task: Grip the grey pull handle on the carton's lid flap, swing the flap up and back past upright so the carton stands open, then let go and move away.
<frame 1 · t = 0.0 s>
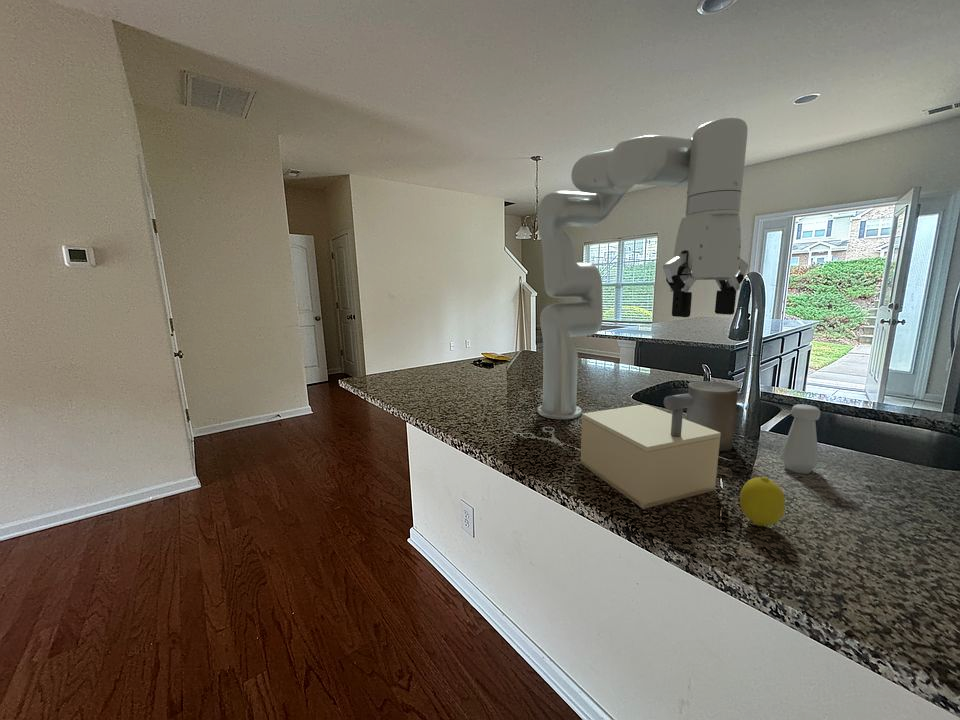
hand: (702, 315, 66), 31 cm above the countertop, tool pointing down, fingers open, 9 cm apart
carton flap: (647, 406, 73), point 14 cm above the countertop, hinge at 0.0°
salt shaker: (797, 469, 77), on the countertop
lemon: (758, 526, 60), on the countertop
carton: (642, 475, 75), on the countertop
pillar candle: (707, 443, 90), on the countertop
scissors: (555, 444, 93), on the countertop
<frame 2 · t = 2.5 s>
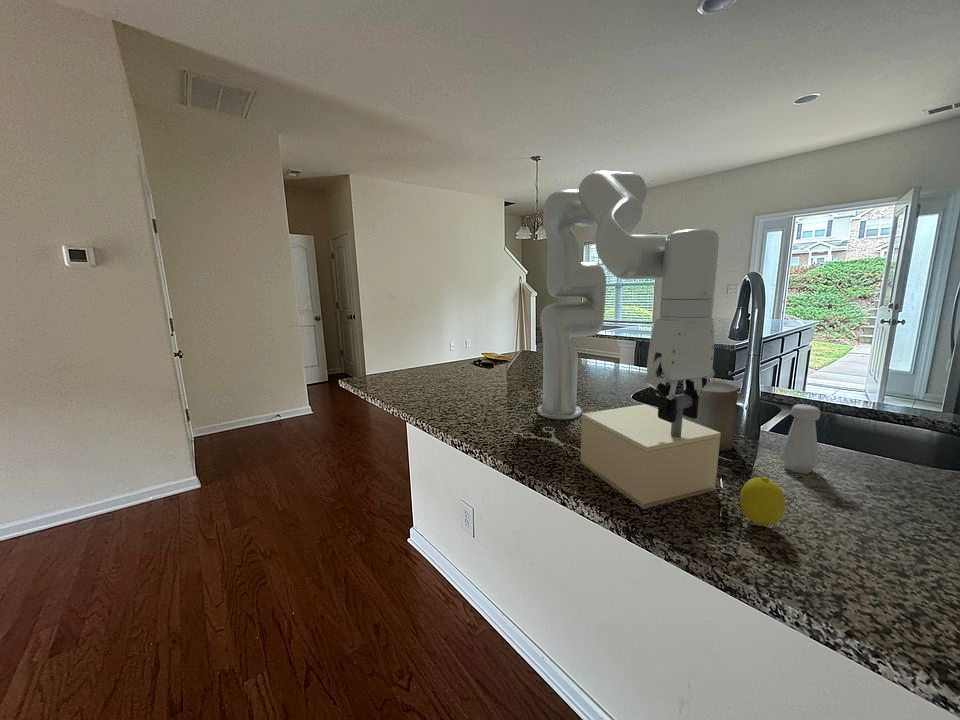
hand: (677, 417, 66), 14 cm above the countertop, tool pointing down, fingers closed on carton flap, 4 cm apart
carton flap: (647, 406, 73), point 14 cm above the countertop, hinge at 0.0°, touching gripper
everything else where it was.
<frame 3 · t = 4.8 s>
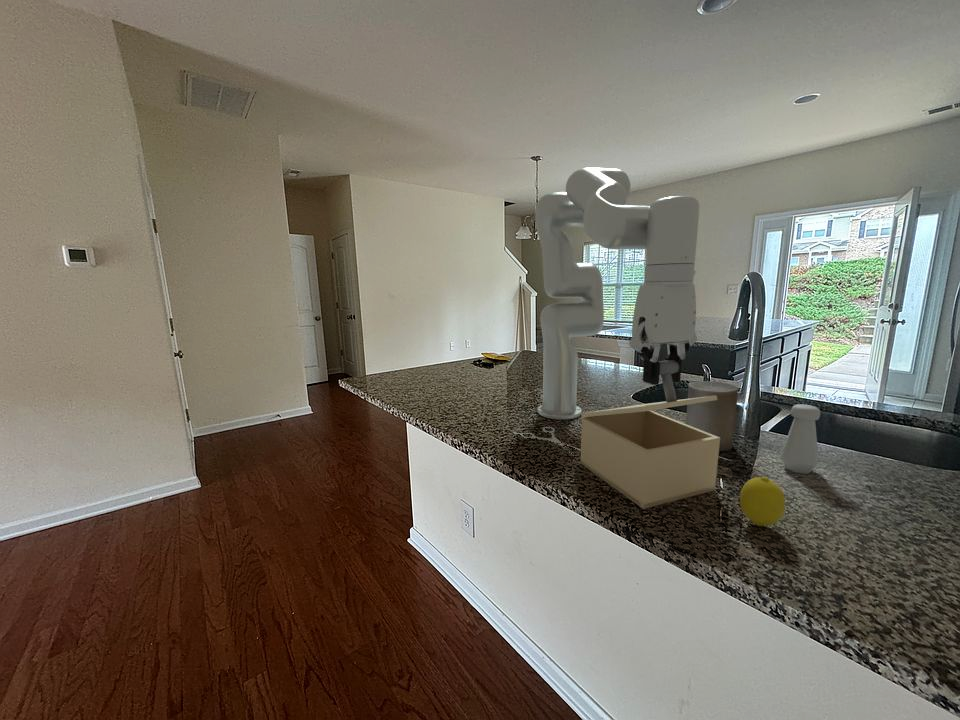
hand: (661, 380, 69), 20 cm above the countertop, tool pointing down, fingers closed on carton flap, 4 cm apart
carton flap: (640, 388, 74), point 17 cm above the countertop, hinge at 20.9°, touching gripper
everything else where it was.
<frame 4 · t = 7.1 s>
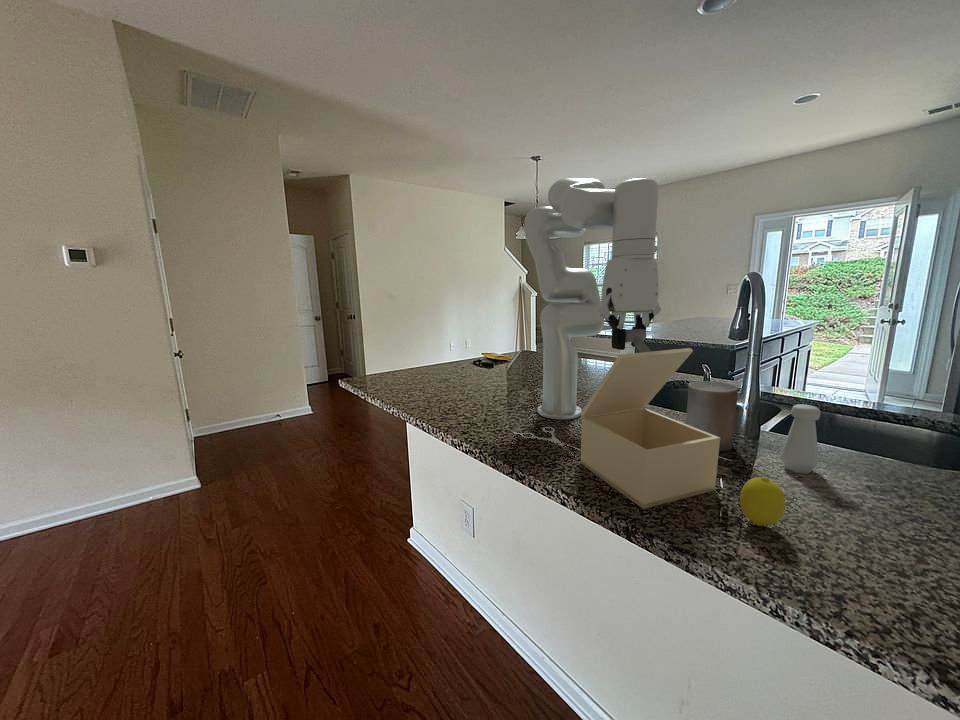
hand: (628, 347, 76), 24 cm above the countertop, tool pointing down, fingers closed on carton flap, 4 cm apart
carton flap: (624, 370, 78), point 20 cm above the countertop, hinge at 52.1°, touching gripper
everything else where it was.
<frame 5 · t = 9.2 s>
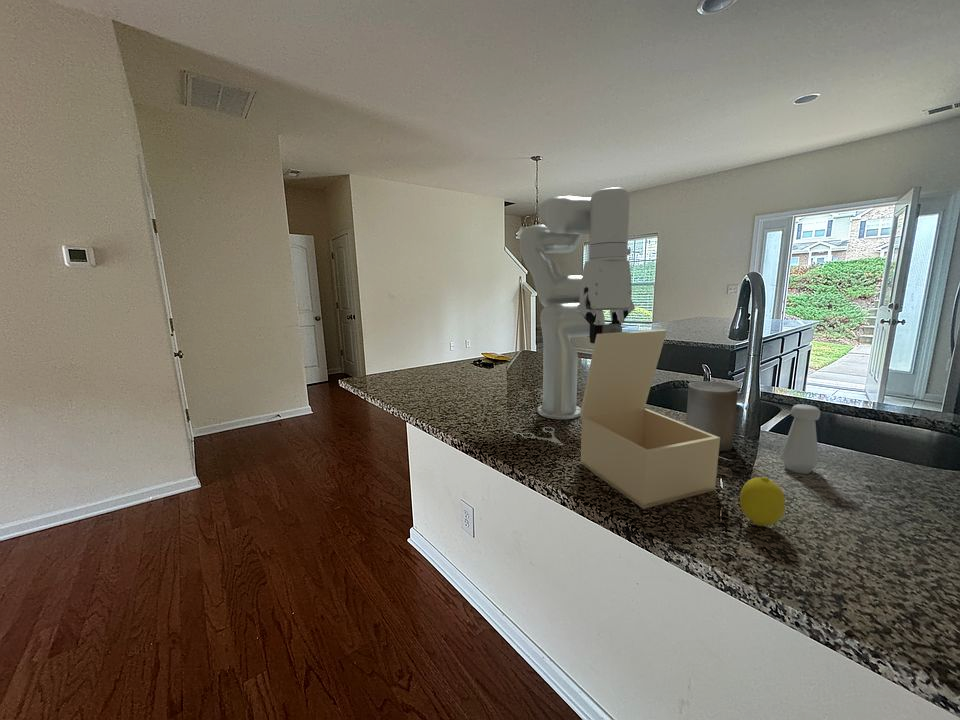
hand: (605, 341, 83), 25 cm above the countertop, tool pointing down, fingers closed on carton flap, 4 cm apart
carton flap: (611, 366, 82), point 20 cm above the countertop, hinge at 74.8°, touching gripper
everything else where it was.
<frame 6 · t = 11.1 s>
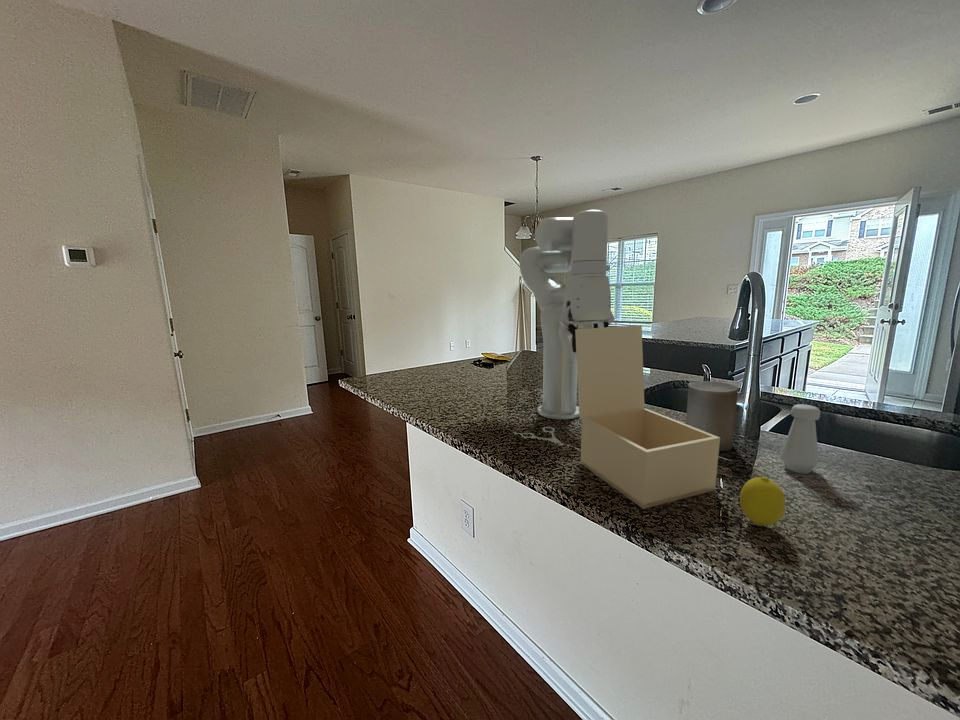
hand: (586, 351, 89), 22 cm above the countertop, tool pointing down, fingers open, 4 cm apart
carton flap: (600, 369, 85), point 18 cm above the countertop, hinge at 97.4°
everything else where it was.
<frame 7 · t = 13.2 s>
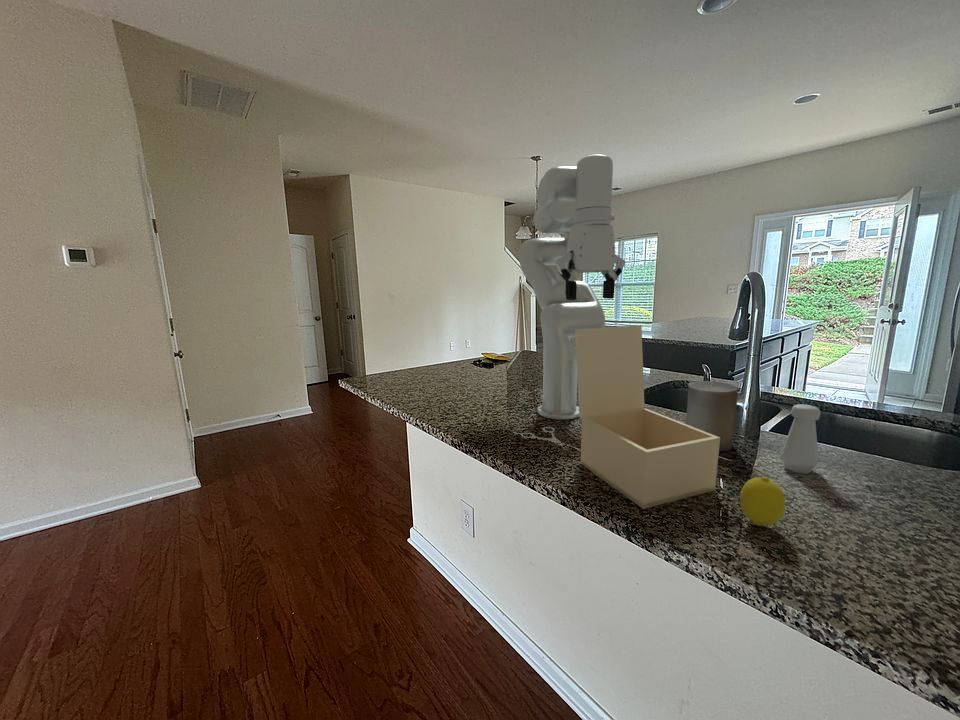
hand: (589, 299, 88), 33 cm above the countertop, tool pointing down, fingers open, 9 cm apart
nothing on the countertop moved.
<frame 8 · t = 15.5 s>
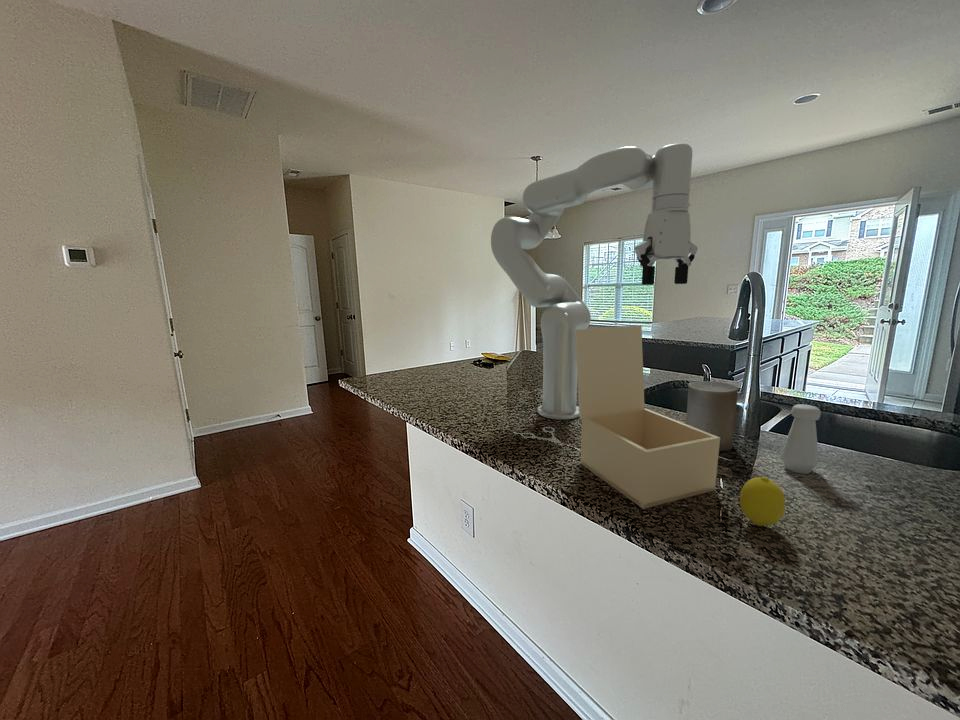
hand: (664, 284, 91), 36 cm above the countertop, tool pointing down, fingers open, 9 cm apart
nothing on the countertop moved.
at the end: carton flap at +98° (first picture: +0°); the gripper is holding nothing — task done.
